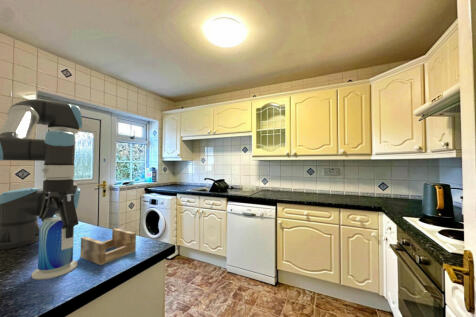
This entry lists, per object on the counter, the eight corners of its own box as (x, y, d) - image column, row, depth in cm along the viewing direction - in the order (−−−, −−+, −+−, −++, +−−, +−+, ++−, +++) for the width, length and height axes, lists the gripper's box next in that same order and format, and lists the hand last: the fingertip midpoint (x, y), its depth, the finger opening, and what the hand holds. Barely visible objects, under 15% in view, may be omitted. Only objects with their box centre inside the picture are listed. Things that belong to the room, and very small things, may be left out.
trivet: (25, 273, 63) (25, 271, 63) (67, 259, 72) (67, 257, 72) (40, 283, 58) (40, 281, 58) (84, 266, 67) (84, 264, 67)
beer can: (51, 276, 60) (53, 222, 61) (30, 273, 62) (32, 220, 62) (79, 262, 68) (80, 215, 69) (59, 260, 70) (61, 214, 71)
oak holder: (80, 257, 74) (81, 237, 74) (115, 244, 86) (115, 228, 86) (100, 265, 68) (101, 244, 68) (135, 250, 80) (135, 233, 80)
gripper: (27, 178, 68) (25, 241, 68) (63, 181, 57) (61, 256, 56) (55, 176, 75) (53, 234, 74) (92, 179, 64) (90, 247, 63)
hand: (56, 244), depth 65 cm, fingers open, 13 cm apart
